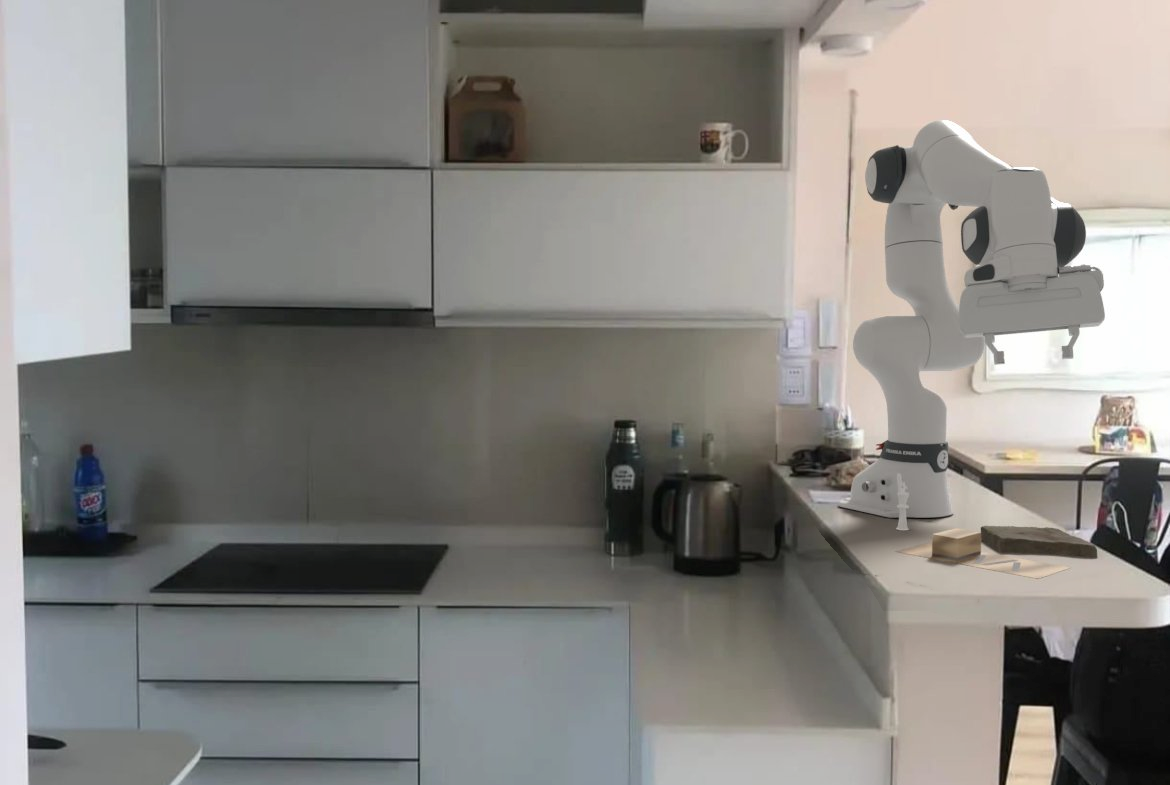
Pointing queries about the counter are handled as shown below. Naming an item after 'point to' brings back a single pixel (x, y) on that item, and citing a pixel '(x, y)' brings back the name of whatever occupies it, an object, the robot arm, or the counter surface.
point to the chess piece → (902, 508)
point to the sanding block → (956, 544)
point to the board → (993, 562)
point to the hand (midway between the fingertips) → (1033, 361)
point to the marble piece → (1036, 541)
